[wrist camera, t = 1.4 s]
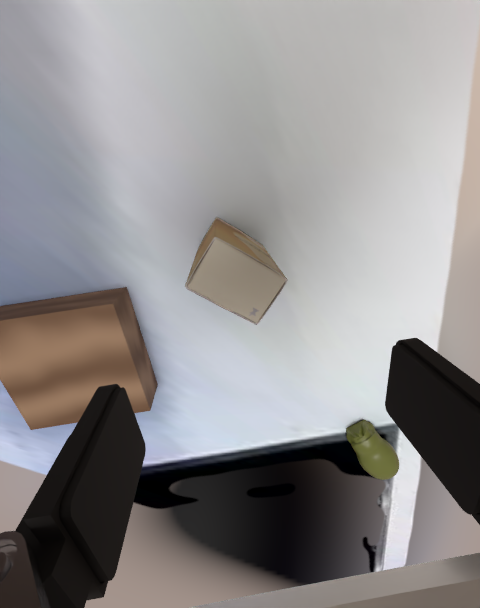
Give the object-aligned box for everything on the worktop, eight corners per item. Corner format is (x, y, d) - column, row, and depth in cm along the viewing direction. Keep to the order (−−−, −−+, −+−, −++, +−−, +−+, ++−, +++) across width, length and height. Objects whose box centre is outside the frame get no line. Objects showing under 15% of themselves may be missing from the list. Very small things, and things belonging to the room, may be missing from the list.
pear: (379, 493, 42) (345, 450, 40) (364, 464, 47) (334, 424, 45) (412, 476, 41) (380, 431, 39) (394, 448, 46) (364, 407, 44)
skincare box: (264, 245, 31) (294, 281, 19) (243, 277, 32) (260, 328, 21) (213, 213, 29) (214, 233, 18) (194, 249, 30) (183, 289, 19)
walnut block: (3, 304, 31) (-33, 325, 26) (127, 286, 31) (112, 303, 27) (53, 399, 37) (31, 429, 32) (158, 382, 37) (150, 410, 33)
